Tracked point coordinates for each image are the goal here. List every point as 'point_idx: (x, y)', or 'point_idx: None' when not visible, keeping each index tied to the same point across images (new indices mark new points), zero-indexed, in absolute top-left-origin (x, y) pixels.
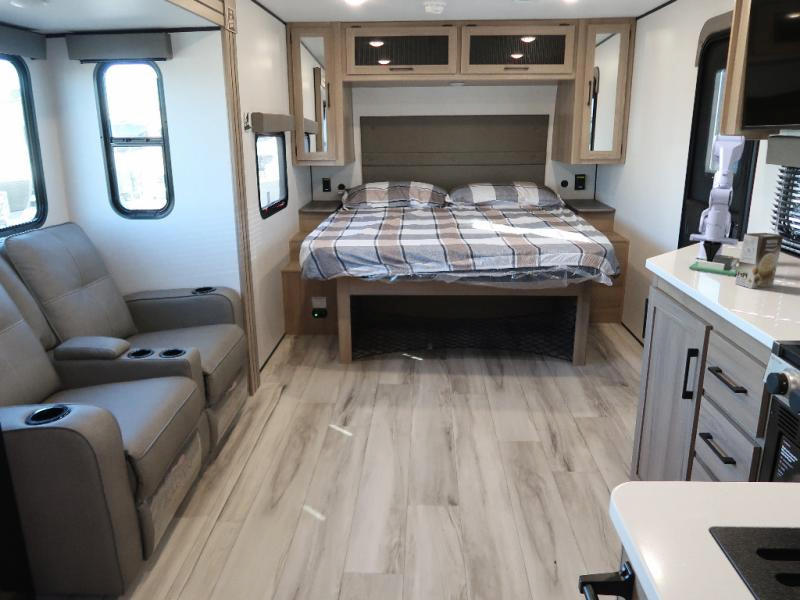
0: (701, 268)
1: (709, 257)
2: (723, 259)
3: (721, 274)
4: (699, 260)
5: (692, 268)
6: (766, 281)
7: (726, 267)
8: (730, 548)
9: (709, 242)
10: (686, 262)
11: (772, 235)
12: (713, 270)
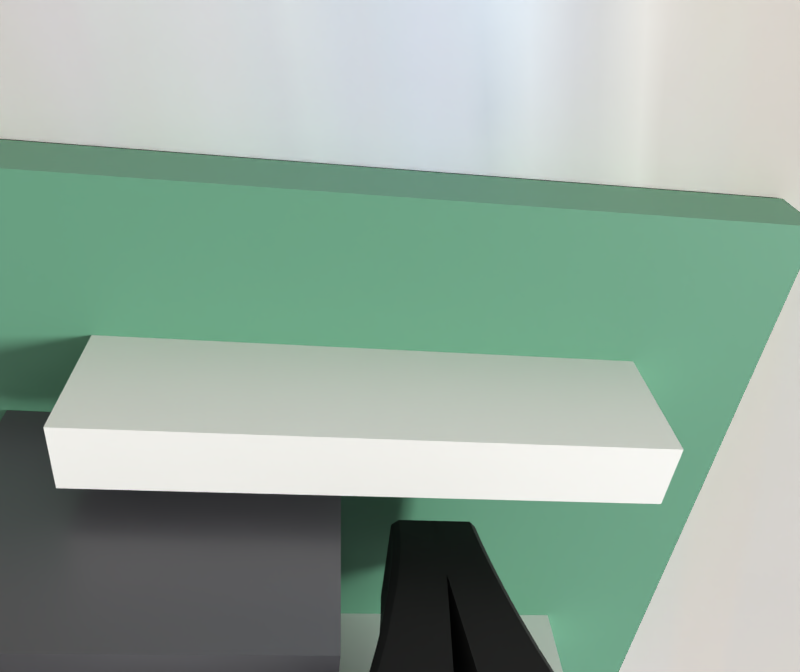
0: (552, 222)
1: (460, 640)
2: (87, 604)
3: (80, 149)
4: (656, 491)
5: (735, 211)
6: None
7: (40, 446)
8: None
9: None
10: (742, 648)
11: None
12: (268, 185)
